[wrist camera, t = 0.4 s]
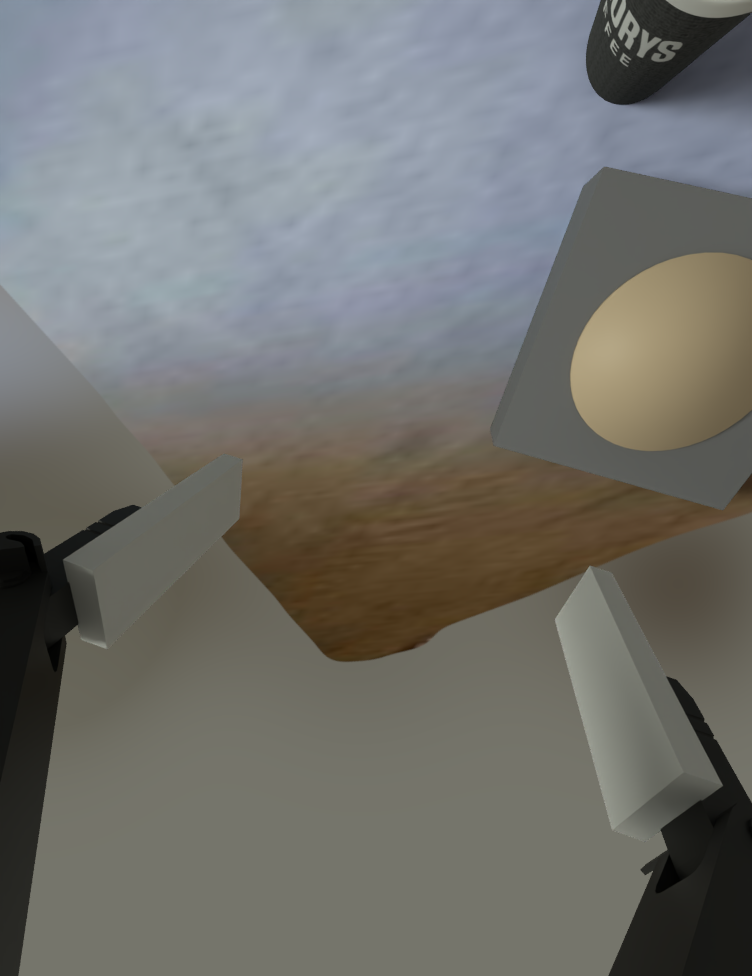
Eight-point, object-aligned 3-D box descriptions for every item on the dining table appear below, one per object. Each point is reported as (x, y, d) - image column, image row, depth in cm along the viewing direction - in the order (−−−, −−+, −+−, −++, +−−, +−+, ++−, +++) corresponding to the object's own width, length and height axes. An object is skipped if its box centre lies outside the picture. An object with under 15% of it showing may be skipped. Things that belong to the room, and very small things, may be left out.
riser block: (583, 186, 29) (606, 164, 25) (859, 247, 28) (940, 237, 23) (490, 429, 39) (493, 447, 34) (692, 485, 37) (725, 512, 32)
